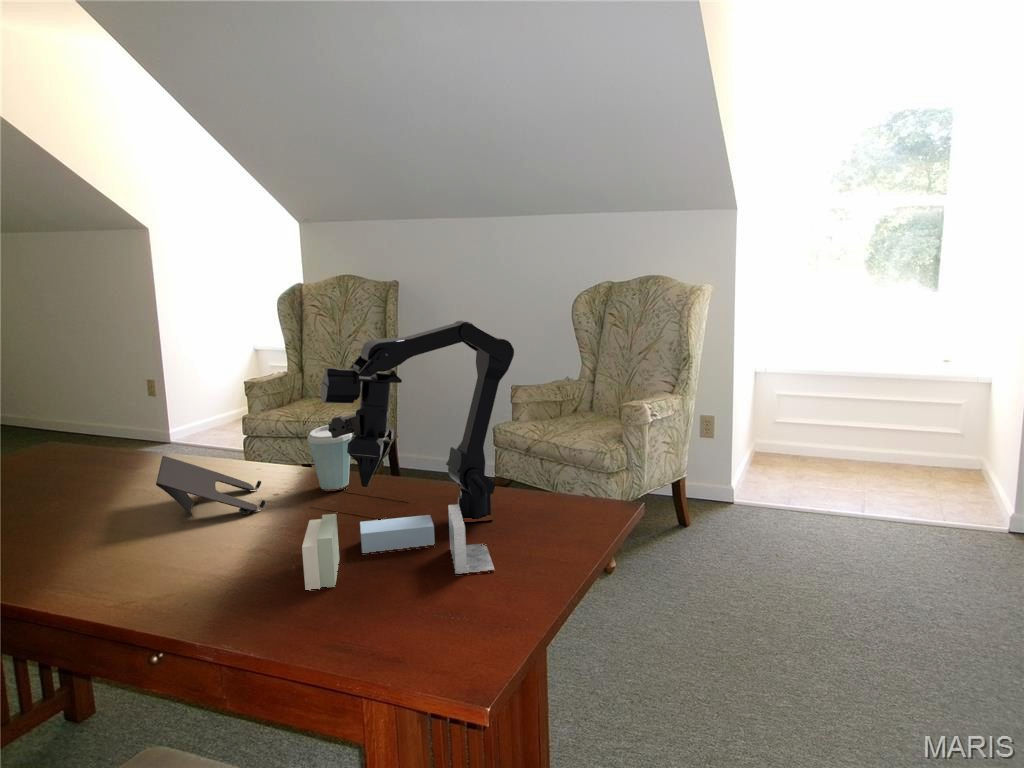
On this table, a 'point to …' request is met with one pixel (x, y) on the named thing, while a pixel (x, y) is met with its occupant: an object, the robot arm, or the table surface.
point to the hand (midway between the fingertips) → (368, 480)
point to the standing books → (321, 553)
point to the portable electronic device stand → (200, 485)
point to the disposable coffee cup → (330, 457)
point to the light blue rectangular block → (396, 533)
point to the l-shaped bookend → (465, 546)
